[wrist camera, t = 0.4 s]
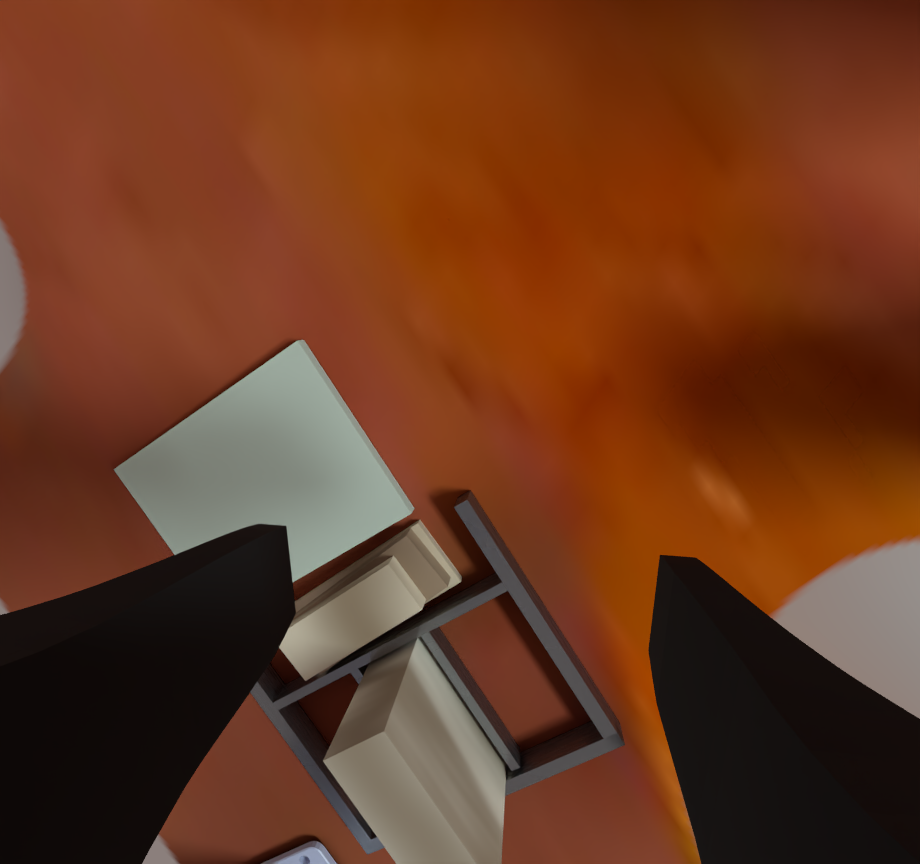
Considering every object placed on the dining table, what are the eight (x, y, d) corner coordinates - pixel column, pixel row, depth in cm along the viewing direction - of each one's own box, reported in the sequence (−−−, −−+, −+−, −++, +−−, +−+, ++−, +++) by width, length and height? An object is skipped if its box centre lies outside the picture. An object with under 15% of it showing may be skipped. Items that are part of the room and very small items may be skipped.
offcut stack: (320, 660, 24) (298, 696, 22) (280, 608, 24) (253, 639, 22) (463, 573, 23) (455, 601, 20) (421, 516, 22) (409, 538, 20)
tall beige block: (459, 776, 24) (437, 920, 18) (374, 652, 24) (322, 760, 18) (506, 755, 24) (499, 896, 18) (420, 627, 23) (383, 731, 17)
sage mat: (230, 615, 24) (223, 622, 23) (124, 465, 23) (113, 469, 23) (414, 508, 22) (411, 513, 21) (304, 339, 21) (297, 340, 20)
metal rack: (375, 830, 25) (367, 854, 24) (230, 628, 24) (215, 643, 23) (619, 723, 23) (624, 744, 21) (470, 489, 21) (467, 499, 20)
